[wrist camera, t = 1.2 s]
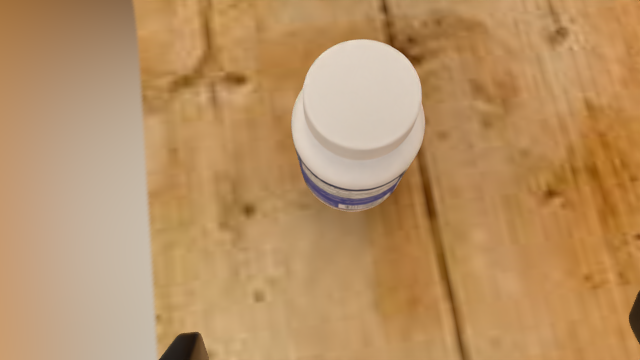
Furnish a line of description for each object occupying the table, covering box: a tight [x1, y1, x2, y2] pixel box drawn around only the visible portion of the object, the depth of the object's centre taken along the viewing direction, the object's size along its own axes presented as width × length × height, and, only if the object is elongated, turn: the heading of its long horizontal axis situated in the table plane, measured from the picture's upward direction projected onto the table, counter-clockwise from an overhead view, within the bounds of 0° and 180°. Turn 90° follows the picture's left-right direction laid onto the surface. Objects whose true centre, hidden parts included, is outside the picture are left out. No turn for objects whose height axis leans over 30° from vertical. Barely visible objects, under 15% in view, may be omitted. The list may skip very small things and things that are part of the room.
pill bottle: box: [291, 39, 425, 211], centre depth 19 cm, size 5×5×9 cm
